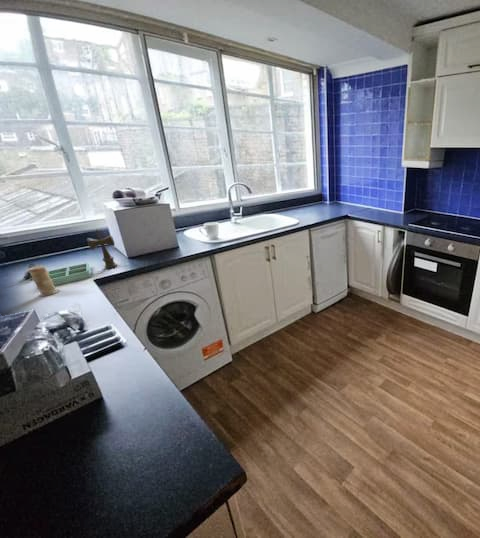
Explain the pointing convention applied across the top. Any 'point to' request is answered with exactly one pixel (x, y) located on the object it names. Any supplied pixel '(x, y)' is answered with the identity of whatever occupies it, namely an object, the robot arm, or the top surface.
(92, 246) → the kendama
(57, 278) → the grid
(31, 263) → the eagle figurine
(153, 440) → the top surface
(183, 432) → the top surface
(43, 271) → the tan cylinder
